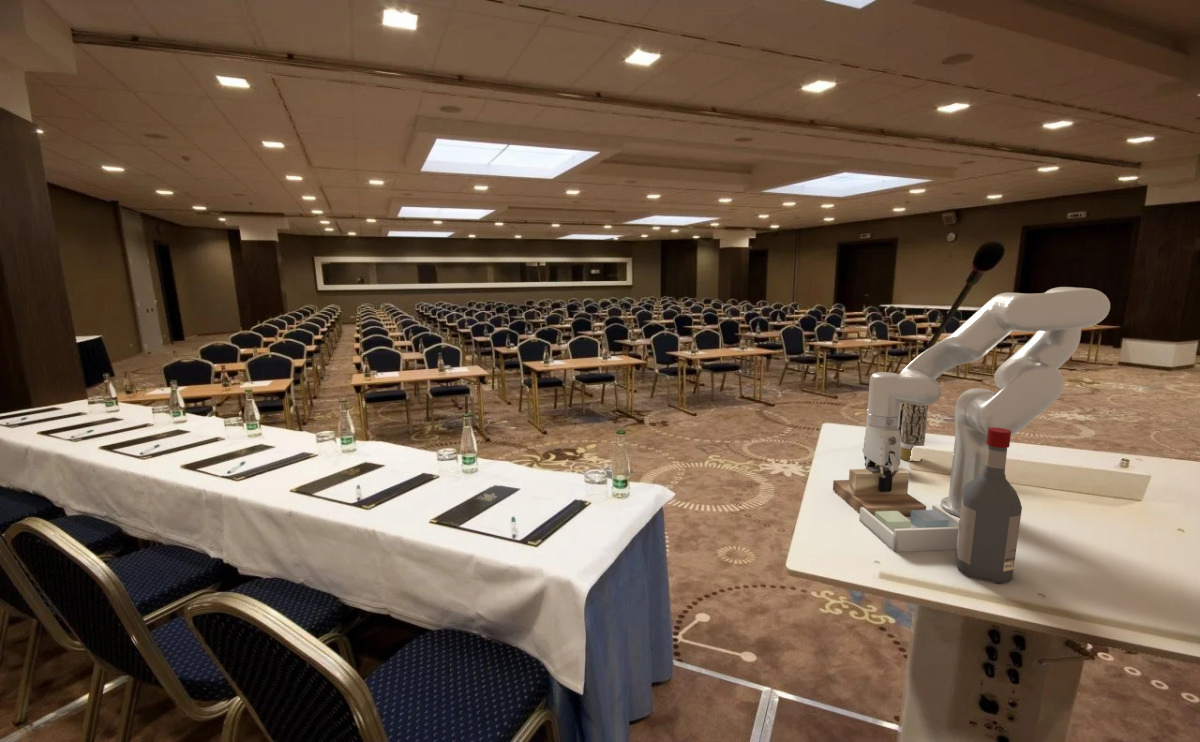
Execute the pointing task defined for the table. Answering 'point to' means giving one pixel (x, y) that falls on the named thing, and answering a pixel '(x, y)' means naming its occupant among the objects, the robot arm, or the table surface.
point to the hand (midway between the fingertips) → (877, 485)
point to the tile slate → (928, 519)
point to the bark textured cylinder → (912, 428)
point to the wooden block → (876, 482)
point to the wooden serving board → (878, 500)
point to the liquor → (989, 518)
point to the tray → (914, 533)
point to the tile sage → (893, 519)
